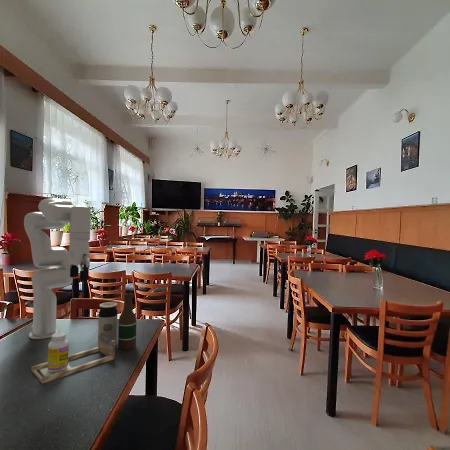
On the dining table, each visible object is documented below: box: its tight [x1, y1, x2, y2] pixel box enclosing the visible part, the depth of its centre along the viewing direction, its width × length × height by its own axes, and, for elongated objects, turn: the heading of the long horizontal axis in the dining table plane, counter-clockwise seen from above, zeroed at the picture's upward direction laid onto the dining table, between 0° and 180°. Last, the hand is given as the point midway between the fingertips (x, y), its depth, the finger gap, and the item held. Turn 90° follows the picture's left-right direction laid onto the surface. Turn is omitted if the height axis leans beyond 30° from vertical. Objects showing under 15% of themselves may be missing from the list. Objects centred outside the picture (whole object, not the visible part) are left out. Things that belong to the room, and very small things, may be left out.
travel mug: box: [97, 301, 119, 344], centre depth 135 cm, size 8×8×18 cm
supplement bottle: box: [47, 331, 70, 373], centre depth 111 cm, size 7×7×13 cm
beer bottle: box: [117, 292, 137, 351], centre depth 132 cm, size 8×8×24 cm
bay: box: [30, 332, 117, 384], centre depth 115 cm, size 27×14×7 cm, turn 138°
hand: (79, 278), depth 120 cm, fingers open, 9 cm apart
